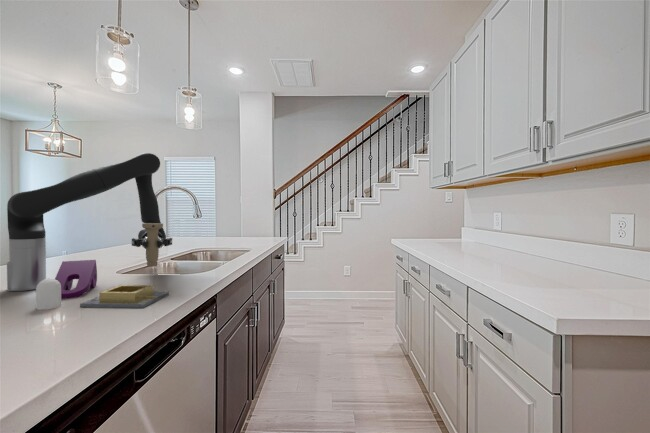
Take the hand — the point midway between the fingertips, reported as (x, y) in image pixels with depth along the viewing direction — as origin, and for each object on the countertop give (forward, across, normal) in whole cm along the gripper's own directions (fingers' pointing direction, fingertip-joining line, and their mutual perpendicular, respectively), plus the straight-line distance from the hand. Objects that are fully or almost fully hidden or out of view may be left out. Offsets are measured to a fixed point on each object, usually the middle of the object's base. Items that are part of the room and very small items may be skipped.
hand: (152, 244), depth 110 cm
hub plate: (+12, -6, +16) cm, 21 cm away
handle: (-3, 0, +8) cm, 9 cm away
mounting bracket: (-8, -22, +16) cm, 29 cm away
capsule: (+9, -25, +16) cm, 32 cm away
